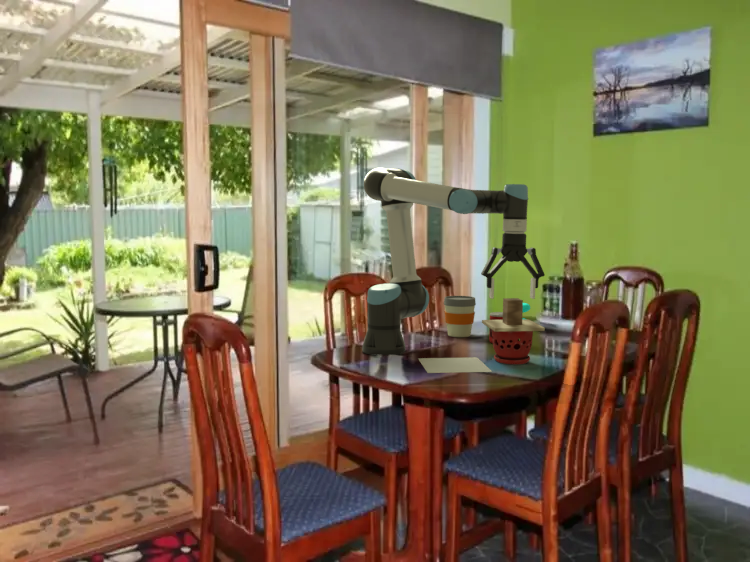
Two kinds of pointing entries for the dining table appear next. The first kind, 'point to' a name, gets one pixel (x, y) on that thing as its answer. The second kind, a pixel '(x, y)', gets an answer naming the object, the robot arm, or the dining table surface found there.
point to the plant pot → (512, 346)
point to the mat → (453, 365)
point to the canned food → (494, 317)
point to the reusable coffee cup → (459, 315)
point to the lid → (512, 318)
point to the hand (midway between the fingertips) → (511, 298)
